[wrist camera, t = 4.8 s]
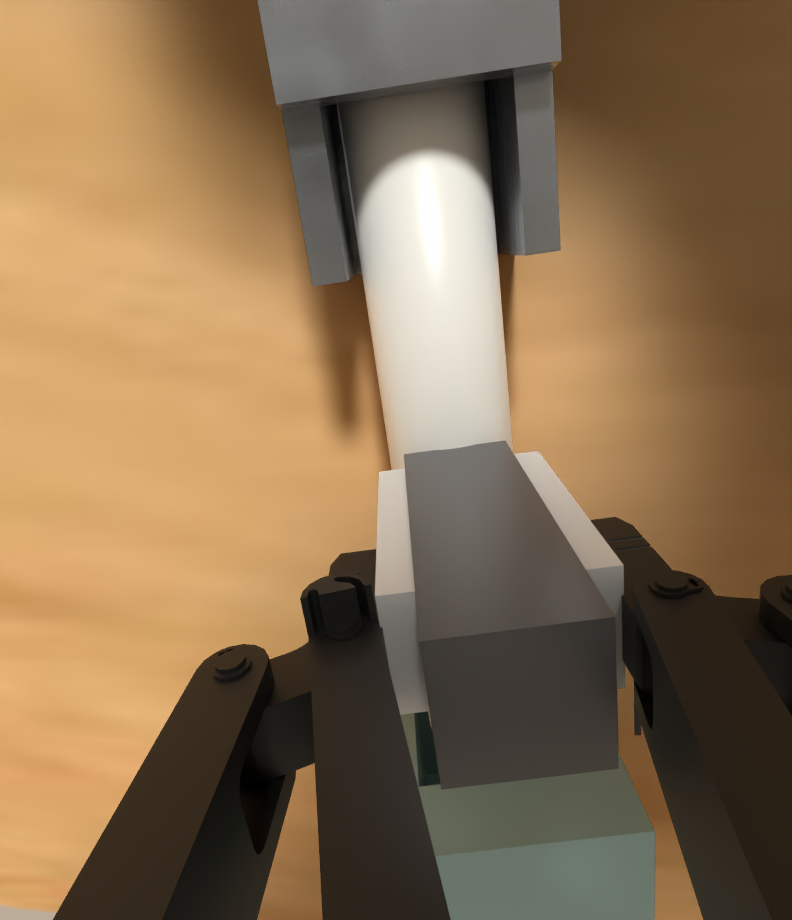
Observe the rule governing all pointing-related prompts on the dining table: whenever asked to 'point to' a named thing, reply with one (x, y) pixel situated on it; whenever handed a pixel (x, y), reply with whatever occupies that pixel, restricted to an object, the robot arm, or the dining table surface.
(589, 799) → the socket
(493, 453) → the tube
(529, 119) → the sleeve
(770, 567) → the dining table surface
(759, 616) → the robot arm
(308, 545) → the dining table surface
